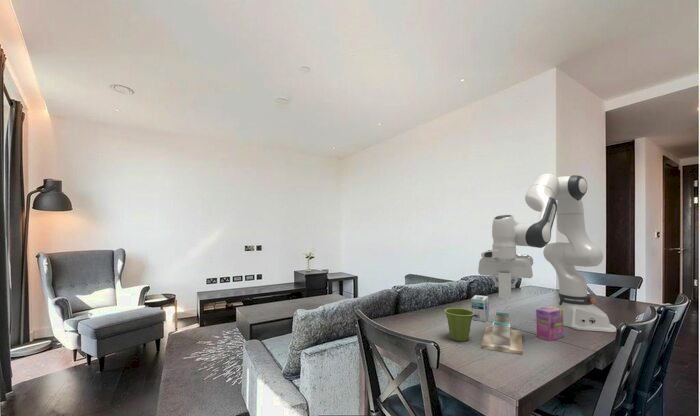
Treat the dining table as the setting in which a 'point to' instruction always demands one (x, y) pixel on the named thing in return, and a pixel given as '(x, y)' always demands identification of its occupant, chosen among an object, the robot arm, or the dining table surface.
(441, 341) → the dining table surface
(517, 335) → the board
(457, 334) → the plant pot
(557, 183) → the robot arm
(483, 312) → the light bulb box
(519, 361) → the dining table surface
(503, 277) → the block
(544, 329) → the box
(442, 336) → the dining table surface
